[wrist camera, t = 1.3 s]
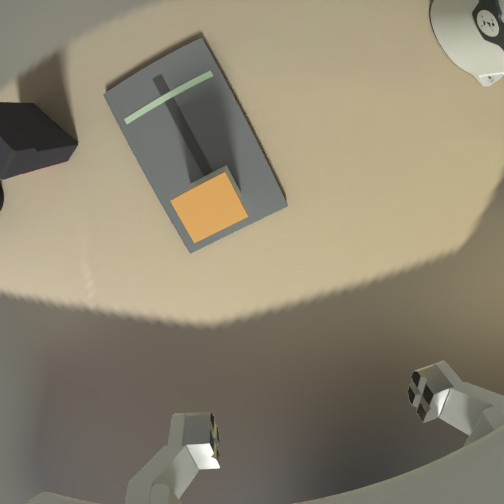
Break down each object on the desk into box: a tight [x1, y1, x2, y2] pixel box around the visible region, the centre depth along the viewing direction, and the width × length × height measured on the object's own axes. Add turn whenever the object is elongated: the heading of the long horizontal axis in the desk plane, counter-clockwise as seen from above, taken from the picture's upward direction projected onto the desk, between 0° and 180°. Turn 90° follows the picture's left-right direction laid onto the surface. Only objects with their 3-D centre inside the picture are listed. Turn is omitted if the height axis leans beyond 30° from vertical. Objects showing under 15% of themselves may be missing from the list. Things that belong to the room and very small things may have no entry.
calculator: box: [0, 102, 78, 180], centre depth 27 cm, size 11×4×15 cm, turn 47°
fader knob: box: [170, 165, 248, 243], centre depth 33 cm, size 6×5×10 cm
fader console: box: [103, 38, 288, 253], centre depth 36 cm, size 14×24×1 cm, turn 26°
